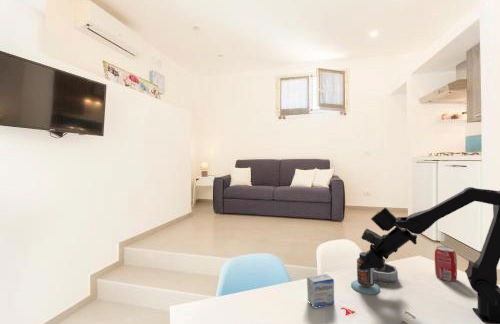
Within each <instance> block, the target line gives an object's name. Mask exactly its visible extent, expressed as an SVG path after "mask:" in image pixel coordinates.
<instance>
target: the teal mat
mask: <svg viewBox="0 0 500 324" xmlns="http://www.w3.org/2000/svg"><path fill="white" fill-rule="evenodd" d="M350 286H351V288H352V289H353V291H355V292H358V293H361V294H363V295H377V294H379V293H380V291H381V287H380V286H379V285H378V284H376V282H374V285H373V286H370V287H367V286H362V285H360V284H359V283H358V281H357V279H356V280H353V281H352V282H351V284H350Z"/></svg>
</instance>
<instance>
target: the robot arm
mask: <svg viewBox="0 0 500 324" xmlns="http://www.w3.org/2000/svg"><path fill="white" fill-rule="evenodd" d="M473 202H478V203H483V204H488V205H492V211H493V213H492V214H493V215H492V216H493V217H492V220H491V222H490V226H489V228H488V230H487V234H486V236H485V240H484V242H483V246H482V247H481V251H480V254H479V257H478V259H476V261H472V260H468V265H467V268H466V269H465V271H464V272H465V274H466V276H467V277H466V278H467V280H468V282H469V284H470V287H471V288H472V290H473V291H474V292H476V293H477V294H476V295H477V300H476V301H477V307H472V310H473V312H474V313H475V315H476V316H478V318H479V319H480V320H481V321H482V322H484V323H491V324H500V286H499V285H498V265H499V262H500V190H493V189H483V188H476V187H472V186H469V187H465V188H464V189H463V190H461V191H460V192H459V193H456V194H454V195H452V196H451V197H448V198H447V199H445V200H443V201H442V202H440V203H438V204H436V205H434V206H432V207H429V208H428V209H424V210H420V211H417V212H414V213H412V214H409V215H408V216H398V217H396V216H395V215H394V214H393V213H392V212H391V211H390V210H389V209H388V208H387V207H384V208H382V209H381V210H380V211H378V212H376V213H375V214H374V215H373V216H372V217H371V218H370V220H371V221H372V222H373V223H374V224H375V225H376V226H377V227H379V229H381V230H382V231H383V232H384V231H385V232H388V233H387V234H383V235H380V234H378V233H377V232H374V231H373V230H371V229H368V228H365V230H364V231H363V232H362V236H361V237H360V239H362V240H363V241H366V242H367V243H370V245H369V250H368V251H366V259H365V260H364V261H363V263H362V264H361V265H360V266H359V268H360V269H361V270H362V269H369V268H378V269H379V270H381V269H382V268H383V267H384V265H385V263H386V260H387V259H389V256H391V255H392V254H393V253H396V252H398V250H399V249H400V248H402V247H403V246H404V245H405V244H407V243H408V242H412V243H413V244H414V245H417V242H418V240H417V238H418V235H421V234H422V233H424V232H425V231H426V230H428V229H429V228H431V227H432V226H433V225H434V224H435V223H436V222H437V221H439V220H441V219H442V218H444V217H447V216H448V215H450V214H453V213H454V212H456V211H457V210H460V209H462V208H464V207H466V206H467V205H470V204H472V203H473Z"/></svg>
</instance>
